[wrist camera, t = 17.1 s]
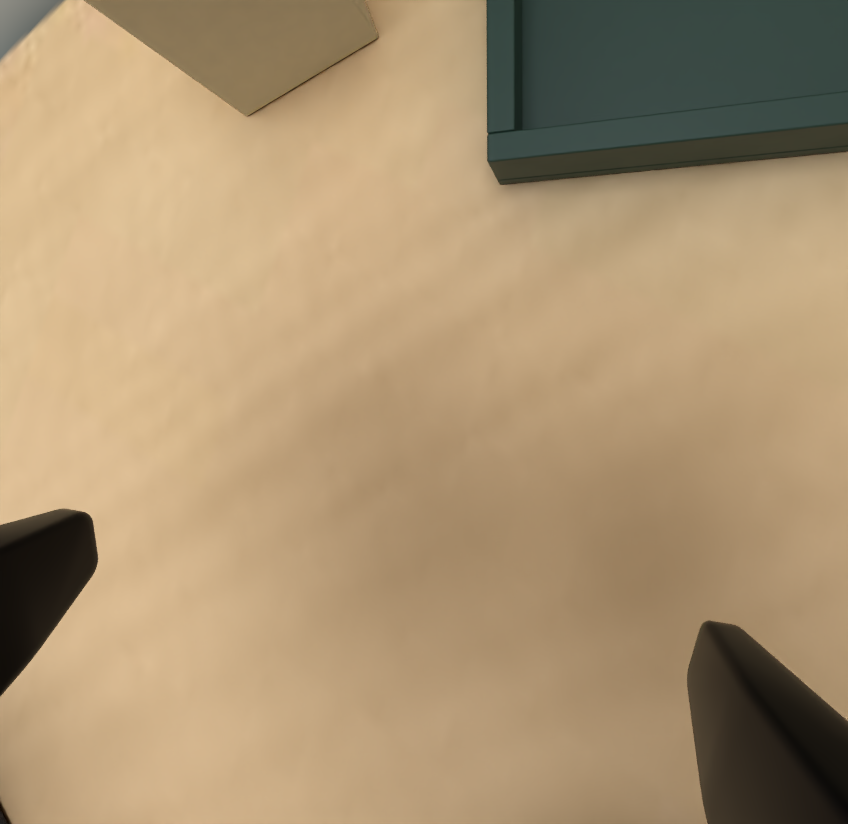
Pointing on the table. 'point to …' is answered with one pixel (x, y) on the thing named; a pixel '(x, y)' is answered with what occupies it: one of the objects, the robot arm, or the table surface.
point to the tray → (661, 84)
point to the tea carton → (246, 40)
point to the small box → (2, 819)
